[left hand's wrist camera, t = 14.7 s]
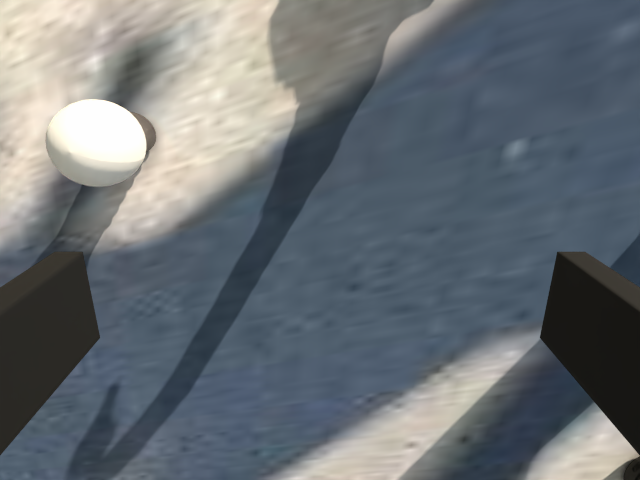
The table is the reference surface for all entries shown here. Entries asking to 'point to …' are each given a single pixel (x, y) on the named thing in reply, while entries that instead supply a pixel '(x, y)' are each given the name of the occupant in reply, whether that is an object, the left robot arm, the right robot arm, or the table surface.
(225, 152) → the table surface
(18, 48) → the table surface
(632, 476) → the headphones
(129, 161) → the light bulb
